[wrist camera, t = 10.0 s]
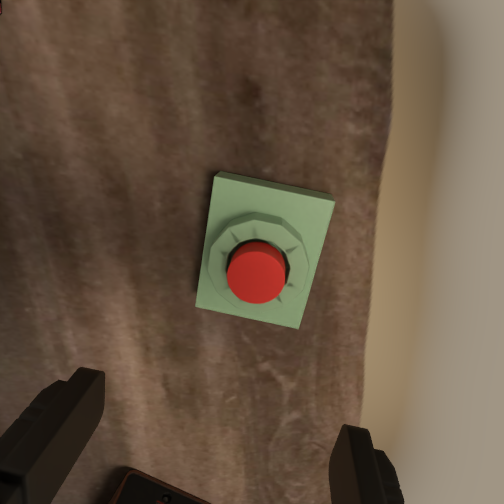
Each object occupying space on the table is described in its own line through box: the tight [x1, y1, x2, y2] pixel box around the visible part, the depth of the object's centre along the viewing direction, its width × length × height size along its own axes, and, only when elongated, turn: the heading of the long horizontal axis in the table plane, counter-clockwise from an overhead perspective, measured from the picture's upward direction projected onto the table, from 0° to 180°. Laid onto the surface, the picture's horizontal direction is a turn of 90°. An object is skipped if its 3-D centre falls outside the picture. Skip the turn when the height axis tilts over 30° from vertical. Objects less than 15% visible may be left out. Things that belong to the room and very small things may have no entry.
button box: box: [195, 171, 335, 329], centre depth 25 cm, size 10×8×4 cm
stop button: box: [227, 242, 285, 304], centre depth 22 cm, size 4×4×2 cm
